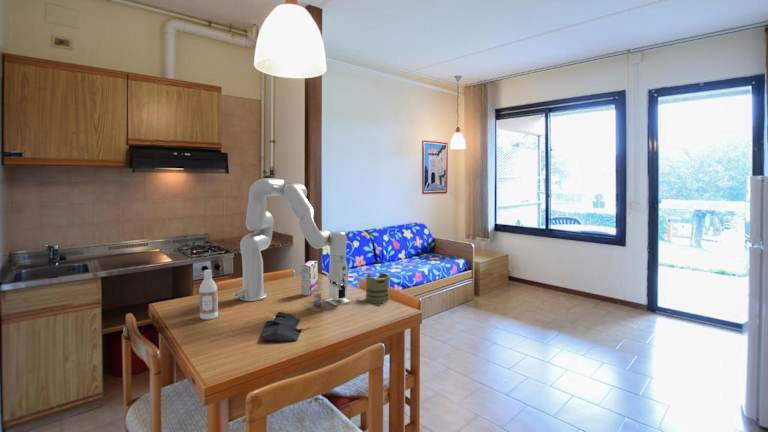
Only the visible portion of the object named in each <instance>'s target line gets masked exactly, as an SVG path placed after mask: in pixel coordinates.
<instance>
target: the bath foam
mask: <svg viewBox="0 0 768 432" xmlns="http://www.w3.org/2000/svg"><path fill="white" fill-rule="evenodd" d="M212 275H213V274H212V269H204V270H203V280H202V282H201V283H200V285H199V289H198V295H199V296H198V297H199V298H198V301H199V318H200V319H201V320H206V321H207V320H213V319H215V318H217V317H218V316H219V305H218V303H219V300H218V296H219V295H218V286H217V285H218V284H216V282H215V281H214V280H213V276H212Z"/></svg>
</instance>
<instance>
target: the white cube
mask: <svg viewBox="0 0 768 432" xmlns="http://www.w3.org/2000/svg"><path fill="white" fill-rule="evenodd" d="M342 285H343V284H341V286H342ZM339 290H340V289H339V284H338V283H335V284H328V298H332V299H334V300H340V299H344V298H348V286H347V287H346V289H345V297H344V298H339Z"/></svg>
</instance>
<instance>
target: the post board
mask: <svg viewBox="0 0 768 432" xmlns="http://www.w3.org/2000/svg"><path fill="white" fill-rule="evenodd" d="M313 294H314V295H313V300H312V301H308V302H307V301H306V302H303V303H300V305H301V306H303V307H305V308H306V309H309V310H310V311H312V312H314V313H318V312H322V311H327V310H331V309H334V308H339V307H344V306H346V305H347V306H348V305H351V304H356V303H357V301H355V300H354V299H350V298H348V297H347V298H344V299H340V300H334V299H332V298H330V297H326V298H322V294H321V293H313Z"/></svg>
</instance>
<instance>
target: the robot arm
mask: <svg viewBox="0 0 768 432" xmlns="http://www.w3.org/2000/svg"><path fill="white" fill-rule="evenodd" d="M307 196H308V189H307V188H306V185H304V184H301V183H298V182H294V181H291V180H286V179H282V178H276V177H275V178H274V177H273V178H272V177H268V178H265V177H264V178H260V179H258V180H255V181H254V182H253V183H252V184H251V185H250V188H249V191H248V202H247V210H246V216H245V217H246V218H245V227H246V228H247V230H248V231H250V232H253V233H248V234H246V235H244V236H243V237H242V238H241V239H240V242H239V248H240V253H241V260H242V261H241V263H242V265H241V266H242V288H241V289H240V290H239V291H235V292H232V296H233V298H234V297H239V299H240V300H241V301H244V302H245V301H246V302H255V301H256V302H257V301H262V300H265V299H266V298H267V297H268V295H267V292H264V260H263V256H262V252H261V251H265V250H266V249H268V248H269V247H270V245H271V243H272V238H273V231H274V225H275V223H274V222H275V221H274V217H273V215H272V213H271V212H269V211H268V210H267V204H268V203H267V197H282V198H284V200H285V201H286V203H287V204H288V205H289V207H290V209H291V210H292V211H293V213H294V215H295V216H296V218H297V220H298V224H299V228H300V231H301V233H302V235H303V237H304V238H305V240H306V241H307V243H308V244H309V245H310V246H311V247H312V248H314V249H318V250H319V249H322V248H324V247H327V246H329V264H328V265H329V266H328V267H329V268H328V277H327V278H328V281H329V283H330V284H335V283H338V284H339V289H340V290H339V298H344V297H345V289H346V287H347V288H348V285H349V269H348V267H349V266H348V263H347V262H348V261H347V234H346V232H344V231H340V230H337V231H336V230H335V231H332V230H327V229H322V230H319V227H318V226H317V225H316V223H315V220H314V212H315V211H314V209H315V208H314V207H313V205H312V204H311V203H310V201H309V200H308V198H307ZM330 284H329V285H330ZM341 284H343V285H342V286H341Z"/></svg>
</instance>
